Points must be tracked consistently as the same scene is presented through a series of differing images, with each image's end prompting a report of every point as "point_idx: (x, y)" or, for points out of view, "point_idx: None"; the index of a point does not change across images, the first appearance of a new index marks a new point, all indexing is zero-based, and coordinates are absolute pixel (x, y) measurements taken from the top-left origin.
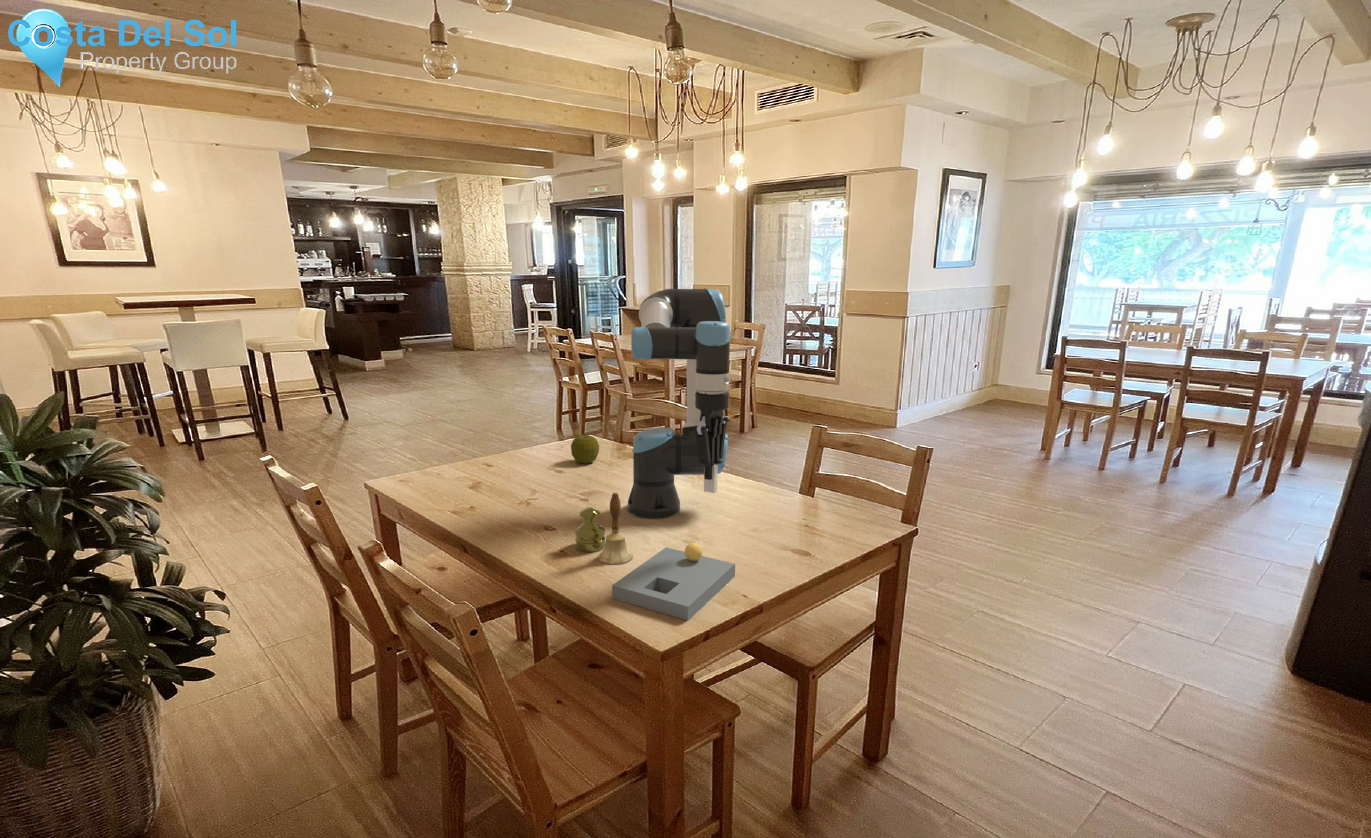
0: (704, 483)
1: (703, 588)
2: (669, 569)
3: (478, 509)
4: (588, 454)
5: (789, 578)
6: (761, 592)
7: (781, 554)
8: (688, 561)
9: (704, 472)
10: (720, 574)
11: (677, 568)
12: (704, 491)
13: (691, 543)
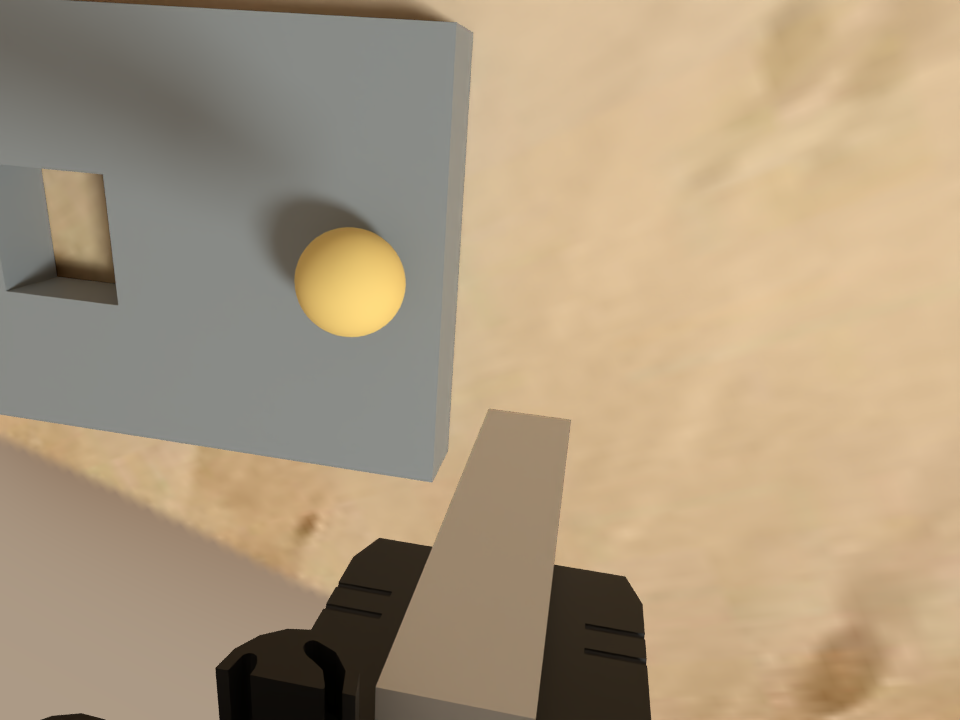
0: (469, 465)
1: (138, 420)
2: (206, 194)
3: None
4: None
5: None
6: None
7: (782, 596)
8: None
9: (322, 613)
10: (292, 449)
11: (238, 230)
12: (489, 416)
13: (331, 279)
